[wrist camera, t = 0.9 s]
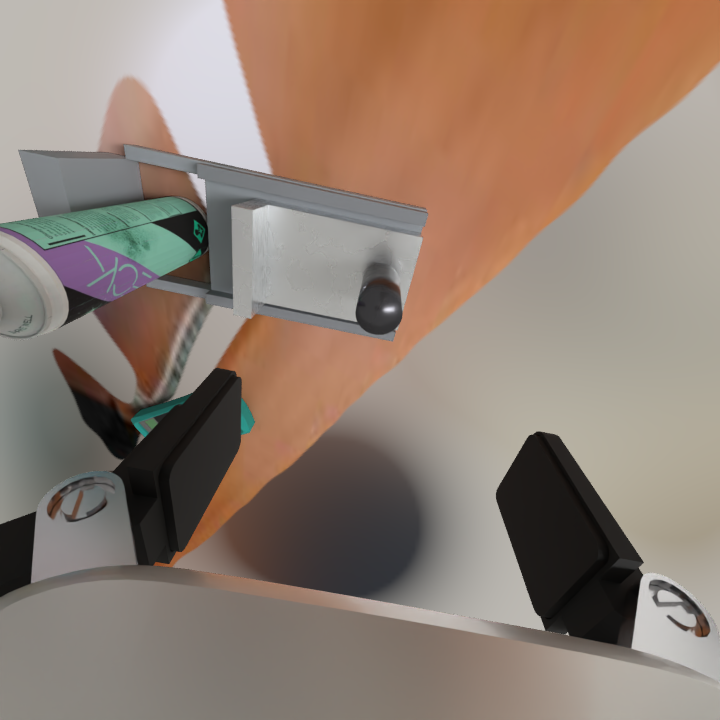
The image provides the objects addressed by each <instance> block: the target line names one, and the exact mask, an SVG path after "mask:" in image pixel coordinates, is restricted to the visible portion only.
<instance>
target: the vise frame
mask: <svg viewBox="0 0 720 720" xmlns="http://www.w3.org/2000/svg"><path fill="white" fill-rule="evenodd" d="M124 150H125V156H122V155H118V154H113V153H106V152H72V151H38V150H18V151H19V154H20V157H21V161H22V164H23V167H24V170H25V173H26V177H27V180H28V183H29V186H30V189H31V193H32V196H33V199H34V203H35V205H36V209H37V212H38V215H39V217H46V216H52V215H58V214H64V213H71V212H77V211H83V210H89V209H95V208H102V207H108V206H114V205H120V204H127V203H133V202H139V201H144V197H143V190H142V183H141V176H140V170H139V163H138V162H143V163H148V164H152V165H157V166H162V167H166V168H171V169H175V170H180V171H185V172H189V173H194V174H198V178H201V179H205V184H206V203H207V221H208V239H209V257H210V275H211V284H209V283H204V282H199V281H194V280H189V279H184V278H179V277H175V276H170V275H163V276H161V277H159V278H157V279H155V280H153V281H151V282H149V283H147V284H146V285H147V287H151V288H156V289H161V290H166V291H171V292H176V293H181V294H186V295H191V296H195V297H200V298H205V299H206V303H207V304H212V305H216V306H221V307H226V308H231V309H233V265H232V212H231V206H233V205H236V204H240V203H243V202H247V201H250V200H254V199H257V198H260V199H264V200H269V201H274V202H278V203H283V204H288V205H292V206H297V207H302V208H306V209H311V210H316V211H320V212H325V213H330V214H334V215H339V216H343V217H348V218H353V219H357V220H362V221H367V222H371V223H376V224H381V225H385V226H390V227H395V228H399V229H404V230H409V231H413V232H418V233H421V231H422V227H425V224H426V220H427V216H428V213H427V210H426V208H422V207H418V206H413V205H409V204H404V203H399V202H395V201H390V200H386V199H381V198H376V197H372V196H367V195H363V194H358V193H353V192H349V191H344V190H340V189H335V188H330V187H326V186H321V185H317V184H312V183H307V182H303V181H298V180H294V179H289V178H284V177H280V176H275V175H271V174H266V173H261V172H257V171H252V170H248V169H243V168H238V167H234V166H229V165H225V164H220V163H215V162H211V161H206V160H202V159H197V158H192V157H188V156H183V155H179V154H174V153H170V152H165V151H160V150H156V149H151V148H147V147H142V146H137V145H125V144H124ZM256 314H261V315H266V316H270V317H275V318H280V319H285V320H290V321H295V322H300V323H305V324H310V325H315V326H319V327H324V328H329V329H334V330H339V331H344V332H349V333H354V334H359V335H364V336H369V337H373V338H378V339H383V340H388V341H393V340H394V336H395V333H396V332H395V330H393V331H392V332H390V333H387V334H384V335H374V334H371V333H368V332H366V331H365V330H363V329H362V328H361V327H360V325H359V324H358V322H354V321H350V320H345V319H340V318H335V317H330V316H325V315H320V314H315V313H311V312H306V311H301V310H296V309H291V308H286V307H281V306H276V305H272V304H267V303H265V304H264V305H263V306H262V307H261V308H260V309H259V311H258V312H257V313H256Z"/></svg>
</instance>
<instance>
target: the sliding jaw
mask: <svg viewBox="0 0 720 720" xmlns="http://www.w3.org/2000/svg"><path fill="white" fill-rule="evenodd" d="M231 212H232V265H233V315H236V316H241V317H245V318H250V319H252V317H253V316H254V315H255V314H256V313H257V312H258V311H259V309H260V308H261V307H262V306H263V305H264V304H265V303H267V304H272V305H276V306H281V307H286V308H291V309H296V310H301V311H306V312H311V313H315V314H320V315H325V316H330V317H335V318H340V319H345V320H350V321H354V322H358V324H359V325H360V327H361V328H362V329H363V330H365V331H366V332H368V333H371V334H374V335H384V334H387V333H390V332H392V331H393V330H398V327H399V324H400V322H401V319H402V312H403V309H404V305H405V301H406V298H407V294H408V291H409V287H410V283H411V280H412V276H413V273H414V269H415V265H416V262H417V258H418V254H419V251H420V247H421V244H422V240H423V236H422V234H421V233H418V232H413V231H409V230H404V229H399V228H395V227H390V226H385V225H381V224H376V223H371V222H367V221H362V220H357V219H353V218H348V217H343V216H339V215H334V214H330V213H325V212H320V211H316V210H311V209H306V208H302V207H297V206H292V205H288V204H283V203H278V202H274V201H269V200H264V199H260V198H257V199H254V200H250V201H247V202H243V203H240V204H236V205H233V206H231Z"/></svg>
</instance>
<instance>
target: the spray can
mask: <svg viewBox="0 0 720 720" xmlns="http://www.w3.org/2000/svg"><path fill="white" fill-rule="evenodd" d="M208 250H209V239H208V221H207V216H206V214H205V213H204V212H203V210H202V209H201V208H200V207H199V206H198V205H197V204H195V203H194V202H192V201H191V200H189V199H186V198H183V197H180V196H170V197H164V198H158V199H151V200H145V201H139V202H133V203H127V204H120V205H114V206H108V207H102V208H95V209H89V210H83V211H77V212H71V213H64V214H58V215H52V216H46V217H39V218H33V219H27V220H21V221H15V222H9V223H2V224H0V336H2V337H5V338H10V339H15V340H26V339H32V338H34V337H36V336H39V335H41V334H47V333H49V332H51V331H54V330H56V329H58V328H60V327H62V326H64V325H66V324H68V323H70V322H72V321H74V320H76V319H78V318H80V317H82V316H84V315H86V314H87V313H90V312H92V311H94V310H96V309H97V308H99V307H101V306H103V305H105V304H107V303H109V302H111V301H113V300H115V299H117V298H119V297H121V296H123V295H125V294H127V293H129V292H131V291H133V290H135V289H137V288H139V287H141V286H143V285H145V284H147V283H149V282H151V281H153V280H155V279H157V278H159V277H161V276H163V275H165V274H167V273H169V272H171V271H173V270H175V269H177V268H179V267H181V266H183V265H185V264H187V263H189V262H191V261H193V260H195V259H197V258H199V257H201V256H202V255H204V254H205V253H206V252H207V251H208Z"/></svg>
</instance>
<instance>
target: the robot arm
mask: <svg viewBox="0 0 720 720" xmlns="http://www.w3.org/2000/svg"><path fill="white" fill-rule="evenodd" d="M241 385H242V381H241V378H240V377H237V376H236V372H235V371H230V370H225V369H220V368H215V369H214V370H213V371H212V372H211V373H210V375H209V376H208V377H207V378H206V379H205V380H204V381H203V382H202V383H201V385H200V386H199V387H198V388H197V389H196V390H195V391H194V392H193V393H192V394H191V396H190V397H189V398H188V399H187V400H186V401H185V402H184V403H183V404H178V405H175V406H174V407H173V408H172V409H171V410H170V411H169V412H168V413H167V414H166V415H165V416H164V417H163V419H162V420H161V421H160V422H159V423H158V424H157V425H156V426H155V427H154V428H153V429H152V430H151V431H150V432H149V434H148V435H147V436H146V437H145V438H144V439H143V440H142V441H141V442H140V443H139V444H138V445H137V446H136V447H135V449H134V450H133V451H132V452H131V453H130V454H129V455H128V456H127V457H126V458H125V459H124V460H123V461H122V462H121V464H120V465H119V466H118V467H117V468H116V469H115V470H114V471H113V472H112V473H110V472H107V471H93V472H88V473H82V474H79V475H77V476H74V477H71V478H69V479H67V480H65V481H63V482H62V483H60V484H58V485H56V486H55V487H54V488H53V489H52V490H50V491H49V492H48V493H47V494H46V495H45V496H44V498H43V499H42V500H41V502H40V503H39V506H38V509H37V511H36V512H33V513H31V514H28V515H25V516H22V517H20V518H17V519H14V520H11V521H8V522H6V523H3V524H0V720H720V635H719V632H718V629H717V625H716V624H715V622H714V620H713V618H712V617H711V615H710V614H709V612H708V611H707V610H706V609H705V608H704V606H703V605H702V604H701V603H700V602H699V601H698V600H697V599H696V598H695V597H694V596H693V595H692V594H691V593H690V592H688V591H687V590H686V589H685V588H683V587H682V586H681V585H680V584H678V583H676V582H675V581H673V580H671V579H670V578H668V577H665V576H663V575H660V574H657V573H647V574H645V575H643V574H642V573H641V571H640V570H639V566H641V565H642V564H643V563H644V562H643V561H642V559H641V558H640V556H639V555H638V553H637V552H636V550H635V549H634V547H633V546H632V544H631V543H630V541H629V540H628V538H627V537H626V535H625V534H624V532H623V531H622V529H621V528H620V527H619V525H618V523H617V522H616V520H615V519H614V518H613V516H612V515H611V513H610V512H609V510H608V509H607V507H606V506H605V504H604V503H603V501H602V500H601V498H600V497H599V495H598V494H597V492H596V491H595V489H594V488H593V486H592V485H591V483H590V482H589V480H588V479H587V477H586V476H585V475H584V473H583V471H582V470H581V469H580V467H579V465H578V464H577V463H576V461H575V459H574V458H573V457H572V455H571V454H570V452H569V451H568V449H567V448H566V446H565V445H564V443H563V442H562V440H561V439H560V437H559V436H557V435H555V434H550V433H545V432H536V433H534V434H533V435H530V436H529V437H528V438H527V440H526V441H525V443H524V445H523V446H522V448H521V450H520V451H519V453H518V455H517V456H516V458H515V460H514V462H513V463H512V465H511V467H510V468H509V470H508V472H507V474H506V475H505V477H504V479H503V480H502V482H501V484H500V485H499V487H498V489H497V492H496V500H497V503H498V506H499V509H500V512H501V515H502V518H503V521H504V524H505V527H506V529H507V532H508V535H509V538H510V541H511V544H512V547H513V550H514V553H515V555H516V559H517V561H518V564H519V567H520V570H521V573H522V576H523V579H524V582H525V585H526V588H527V591H528V593H529V596H530V599H531V602H532V605H533V608H534V610H535V612H536V613H537V615H539V616H541V619H542V622H543V625H544V628H545V631H542V630H536V629H531V628H525V627H520V626H514V625H509V624H503V623H498V622H493V621H487V620H482V619H476V618H470V617H465V616H459V615H454V614H448V613H443V612H437V611H431V610H426V609H420V608H415V607H408V606H404V605H398V604H392V603H387V602H381V601H375V600H370V599H364V598H358V597H353V596H347V595H341V594H335V593H329V592H324V591H318V590H312V589H306V588H300V587H294V586H289V585H283V584H276V583H271V582H265V581H260V580H253V579H248V578H241V577H235V576H228V575H221V574H215V573H208V572H202V571H195V570H189V569H181V568H171V567H161V566H153V565H154V563H155V562H160V563H166V564H169V563H170V562H171V560H172V558H173V556H174V555H175V553H176V551H178V552H182V551H183V550H184V549H185V547H186V545H187V544H188V542H189V540H190V538H191V536H192V534H193V533H194V531H195V529H196V527H197V525H198V523H199V522H200V520H201V518H202V516H203V514H204V512H205V511H206V509H207V507H208V505H209V503H210V501H211V499H212V498H213V496H214V494H215V492H216V490H217V488H218V487H219V485H220V483H221V481H222V479H223V477H224V476H225V474H226V472H227V470H228V468H229V466H230V465H231V463H232V461H233V459H234V457H235V455H236V454H237V452H238V449H239V446H240V442H241ZM547 631H549V632H547ZM553 632H554V633H553ZM567 632H568V633H569V636H568V635H563V634H566V633H567ZM558 633H560V634H558Z"/></svg>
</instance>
